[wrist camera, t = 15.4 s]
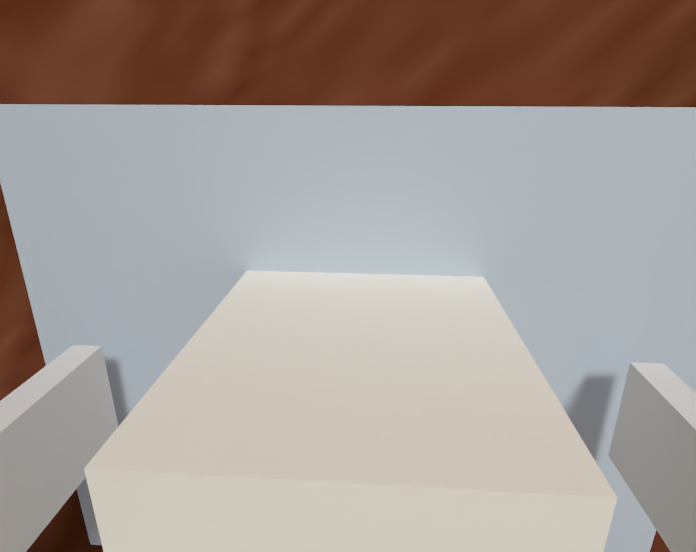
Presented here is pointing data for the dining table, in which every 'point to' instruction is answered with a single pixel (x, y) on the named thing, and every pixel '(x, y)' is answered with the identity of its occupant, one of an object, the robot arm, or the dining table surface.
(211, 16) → the dining table surface
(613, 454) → the robot arm
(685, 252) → the panel
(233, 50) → the dining table surface
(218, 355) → the cream box with handle
